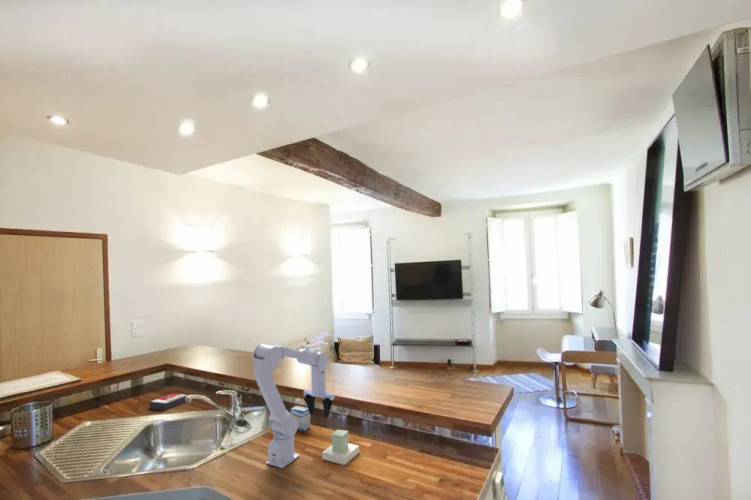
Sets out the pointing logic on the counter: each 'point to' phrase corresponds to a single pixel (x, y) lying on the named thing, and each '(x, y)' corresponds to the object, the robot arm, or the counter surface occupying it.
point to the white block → (341, 454)
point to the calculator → (167, 402)
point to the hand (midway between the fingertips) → (319, 415)
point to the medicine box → (301, 417)
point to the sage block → (340, 441)
